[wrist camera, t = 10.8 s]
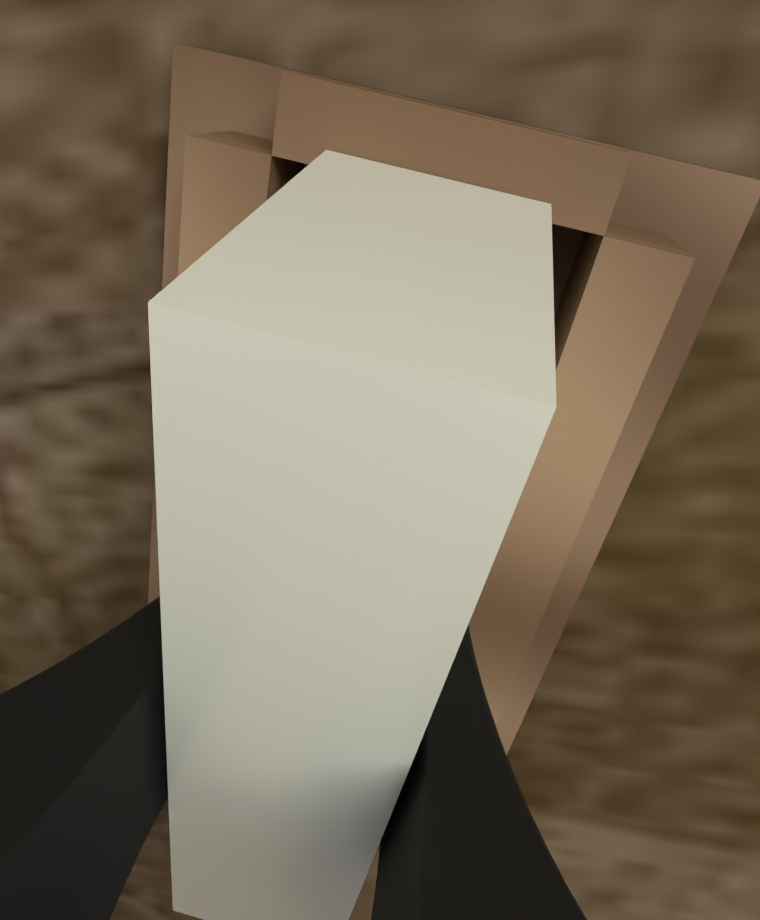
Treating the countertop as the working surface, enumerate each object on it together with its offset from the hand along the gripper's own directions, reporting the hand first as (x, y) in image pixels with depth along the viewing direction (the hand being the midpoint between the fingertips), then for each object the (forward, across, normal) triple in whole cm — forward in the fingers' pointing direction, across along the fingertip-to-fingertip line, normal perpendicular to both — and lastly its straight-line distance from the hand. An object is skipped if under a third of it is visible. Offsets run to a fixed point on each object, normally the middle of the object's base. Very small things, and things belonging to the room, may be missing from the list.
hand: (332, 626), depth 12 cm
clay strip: (+2, 0, -1) cm, 2 cm away
